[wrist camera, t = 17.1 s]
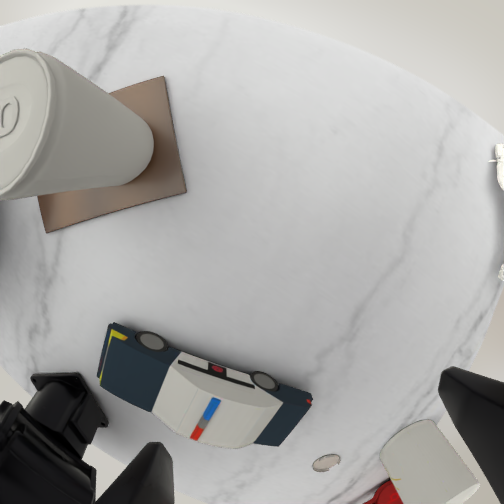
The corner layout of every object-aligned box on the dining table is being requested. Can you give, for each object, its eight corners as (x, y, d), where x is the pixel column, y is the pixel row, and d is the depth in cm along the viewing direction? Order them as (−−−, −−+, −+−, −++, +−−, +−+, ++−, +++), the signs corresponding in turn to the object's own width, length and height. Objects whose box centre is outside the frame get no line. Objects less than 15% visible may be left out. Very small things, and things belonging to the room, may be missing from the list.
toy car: (115, 314, 20) (90, 350, 15) (307, 383, 23) (323, 424, 18) (103, 363, 21) (82, 402, 16) (278, 422, 24) (288, 463, 19)
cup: (367, 458, 27) (402, 531, 15) (416, 414, 26) (467, 484, 14) (400, 464, 29) (434, 524, 17) (443, 425, 28) (487, 482, 16)
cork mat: (48, 232, 18) (45, 233, 18) (30, 130, 16) (27, 129, 15) (187, 192, 18) (186, 192, 18) (164, 77, 16) (163, 75, 16)
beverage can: (86, 122, 16) (-42, 81, 4) (153, 105, 16) (62, 19, 5) (92, 191, 17) (-44, 217, 6) (159, 179, 18) (59, 183, 6)
